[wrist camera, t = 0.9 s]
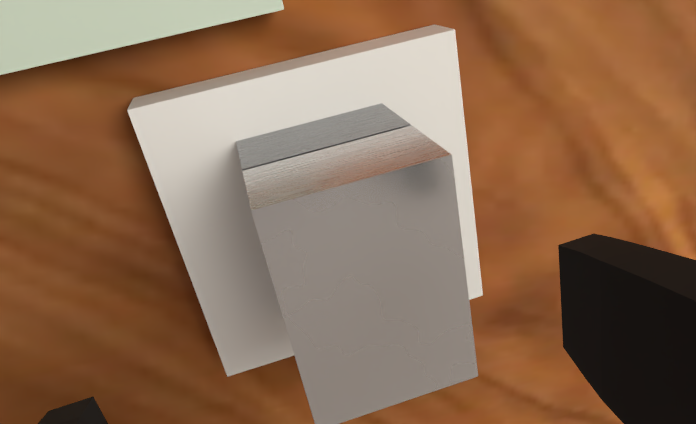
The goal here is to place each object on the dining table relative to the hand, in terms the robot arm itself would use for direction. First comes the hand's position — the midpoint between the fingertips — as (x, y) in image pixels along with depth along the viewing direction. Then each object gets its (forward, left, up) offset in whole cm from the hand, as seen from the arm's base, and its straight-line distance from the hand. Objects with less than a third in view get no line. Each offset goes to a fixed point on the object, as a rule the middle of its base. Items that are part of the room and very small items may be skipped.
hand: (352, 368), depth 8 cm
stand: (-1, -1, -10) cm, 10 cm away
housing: (-1, -1, -8) cm, 9 cm away
